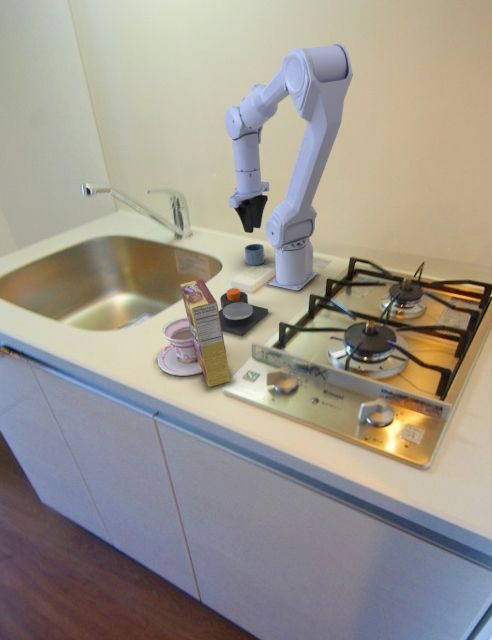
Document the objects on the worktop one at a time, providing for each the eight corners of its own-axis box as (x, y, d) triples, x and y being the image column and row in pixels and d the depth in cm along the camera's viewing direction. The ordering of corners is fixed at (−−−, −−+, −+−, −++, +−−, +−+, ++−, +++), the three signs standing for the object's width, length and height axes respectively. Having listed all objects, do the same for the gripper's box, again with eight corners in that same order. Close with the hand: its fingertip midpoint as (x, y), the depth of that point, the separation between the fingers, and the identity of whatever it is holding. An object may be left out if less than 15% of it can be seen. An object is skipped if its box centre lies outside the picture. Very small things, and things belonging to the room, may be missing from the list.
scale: (232, 301, 95) (230, 288, 93) (271, 311, 91) (270, 298, 89) (200, 325, 88) (198, 312, 86) (242, 336, 83) (240, 323, 82)
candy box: (195, 360, 78) (178, 283, 68) (217, 355, 79) (204, 277, 69) (206, 388, 72) (190, 307, 62) (231, 382, 73) (219, 301, 63)
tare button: (232, 294, 92) (231, 287, 91) (243, 297, 91) (242, 289, 90) (224, 300, 90) (223, 292, 89) (235, 302, 89) (234, 295, 88)
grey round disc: (234, 302, 88) (233, 299, 88) (258, 308, 86) (258, 305, 85) (217, 315, 84) (216, 313, 84) (242, 322, 82) (241, 319, 81)
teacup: (234, 347, 81) (230, 318, 77) (198, 383, 73) (192, 354, 69) (183, 334, 86) (177, 307, 82) (144, 367, 78) (136, 338, 74)
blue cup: (252, 257, 113) (251, 242, 111) (268, 260, 111) (267, 245, 108) (242, 264, 110) (240, 249, 108) (258, 267, 108) (257, 252, 105)
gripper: (250, 160, 103) (254, 218, 111) (214, 175, 94) (222, 237, 102) (275, 162, 100) (278, 221, 108) (241, 178, 91) (246, 241, 99)
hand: (252, 229), depth 105 cm, fingers open, 3 cm apart
